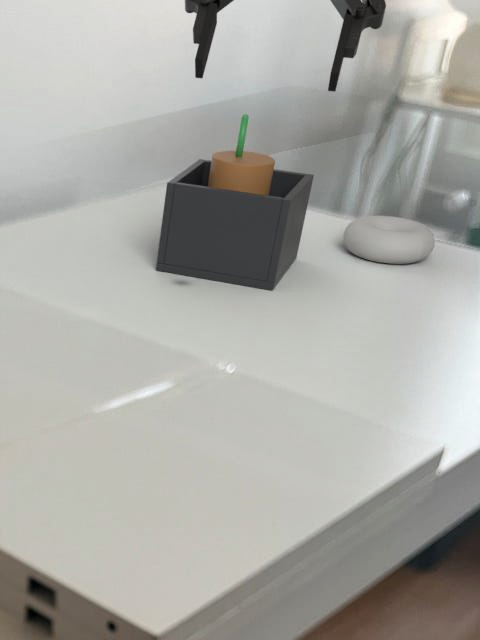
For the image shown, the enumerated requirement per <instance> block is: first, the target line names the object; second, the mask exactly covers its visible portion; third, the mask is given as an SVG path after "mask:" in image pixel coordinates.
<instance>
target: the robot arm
mask: <svg viewBox="0 0 480 640" xmlns="http://www.w3.org/2000/svg"><path fill="white" fill-rule="evenodd" d="M234 1H235V0H184V11H185V12H186V13H187V14H193V13H194V14H196V15H195V18H194V23H193V27H192V41H193V44H195V45H198V46H197V50H196V53H195V54H196V55H195V58H194V75H195V77H194V78H196V79H203V78H204V74H205V72H206V71H205V70H206V66H207V63H208V60H209V55H210V51H211V47H212V43H213V39H214V36H215V32H216V29H217V24H218V14H219V12H221V11H222V10H223V9H224V8H226V7H227V6H228V5H230V4H231V3H233V2H234ZM329 1H330V2H331V4H332V5H333V7H334V8H335V9H336V11H337V12H338V14H339V16H340V18H341V19H342V20H343V21H342V25H341V28H340V34H339V37H338V40H337V41H338V42H337V45H336V49H335V54H334V58H333V63H332V66H331V70H330V73H329V74H330V75H329V76H330V77H329V81H328V87H327V92H335V93H336V91H337V90H336V89H337V87H338V84H339V83H338V82H339V79H340V74H341V69H342V66H343V62H344V59H354V58H355V57H356V55H357V52H358V49H359V44H360V40H361V36H362V33H363V31H364V30H365V29H368V28H371V29H372V30H378V29H380V28H381V27H382V25H383V22H384V18H385V14H386V13H385V12H386V8H387V4H386V3H387V2H386V0H329Z"/></svg>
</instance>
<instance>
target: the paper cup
mask: <svg viewBox="0 0 480 640" xmlns="http://www.w3.org/2000/svg"><path fill="white" fill-rule="evenodd" d="M249 118H250V117H249V114H246V113H244V114H242V116H241V121H240V125H239V131H238V137H237V143H236V150H223V151H217V152H214V153H213V154H212V156H211V160H210V161H211V168H210V175H209V181H208V187H213V188H220V189H227V190H233V191H240V192H247V193H254V194H261V195H268V196H269V191H270V186H271V181H272V175H273V170H274V169H275V164H276V160H275V158H274V157H272V156H270V155H267V154H263V153H259V152H252V151H245V150H244V148H245V142H246V141H245V140H246V135H247V129H248V124H249Z"/></svg>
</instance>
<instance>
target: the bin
mask: <svg viewBox="0 0 480 640" xmlns="http://www.w3.org/2000/svg"><path fill="white" fill-rule="evenodd" d="M211 161H212V160H209V159H201V158H199V159H198V160H196V161H195V162H194V163H192V164H191V165H190V166H188V167H187V168H185V169H184V170H182V171H181V172H180V173H179V174H178V175H176V176H174V177H173V178H172V179H170V180H168V181H167V182H166V189H165V196H164V204H163V211H162V218H161V219H162V220H161V226H160V234H159V241H158V242H159V243H158V250H157V258H156V265H155V271H159V272H163V273H170V274H175V275H181V276H187V277H193V278H199V279H203V280H204V279H205V280H211V281H216V282H222V283H226V284H233V285H238V286H243V287H244V286H245V287H250V288H256V289H262V290H267V291H274V290H275V288H276V287H277V285H278V284H279V282H280V281H281V280H282V279H283V277H284V276H285V275H286V274H287V272H288V270H289V269H290V268H291V266H292V265H293V264H294V262H295V261H296V260H297V258H298V251H299V247H300V243H301V239H302V233H303V230H304V229H303V228H304V224H305V220H306V216H307V210H308V205H309V200H310V195H311V192H312V186H313V181H314V177H315V175H314V174H311V173H305V172H297V171H289V170H283V169H275V168H274V170H273V175H272V181H271V186H270V191H269V196H268V195H261V194H254V193H247V192H240V191H233V190H227V189H220V188H213V187H208V181H209V175H210V168H211Z"/></svg>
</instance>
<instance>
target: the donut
mask: <svg viewBox="0 0 480 640" xmlns="http://www.w3.org/2000/svg"><path fill="white" fill-rule="evenodd" d="M435 242H436V240H435V236H434V232H433V231H432V230H431V229H430V228H429V227H428V226H426V225H425V224H423V223H421V222H419V221H416V220H412V219H409V218H406V217H398V216H390V215H365V216H361V217H357V218H356V219H354V220H352V221H350V222H349V223H348V225H347V226H346V227H345V228H344V232H343V245H344V246H345V248H346V249H347V250H348V251H349V252H350V253H352V254H353V255H355V256H357V257H359V258H362V259H364V260H368V261H371V262H375V263H376V262H377V263H382V264H388V265H389V264H391V265H408V264H413V263H417V262H420V261H422V260H425V259H426V258H428V256H429V255H430V254H431V253H432V252H433V250H434V248H435V244H436V243H435Z"/></svg>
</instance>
